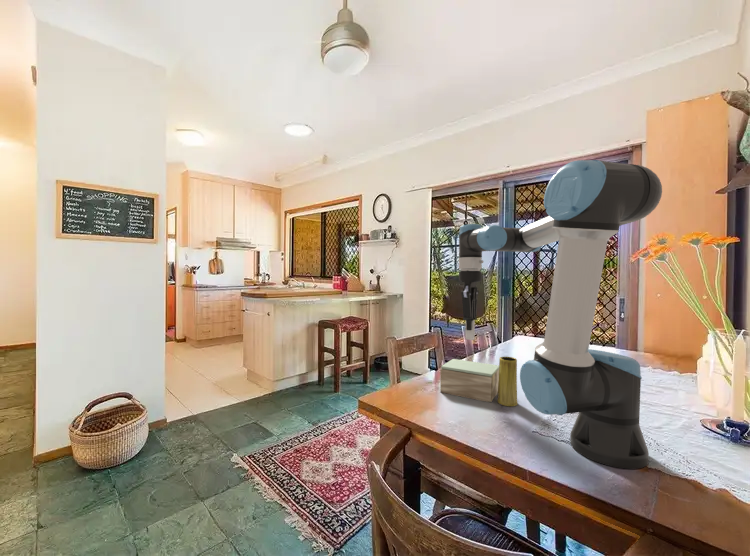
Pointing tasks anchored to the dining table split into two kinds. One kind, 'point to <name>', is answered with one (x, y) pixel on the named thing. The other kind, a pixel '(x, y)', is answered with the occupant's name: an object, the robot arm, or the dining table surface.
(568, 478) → the dining table surface
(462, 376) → the box
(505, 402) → the vase
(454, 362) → the lid
